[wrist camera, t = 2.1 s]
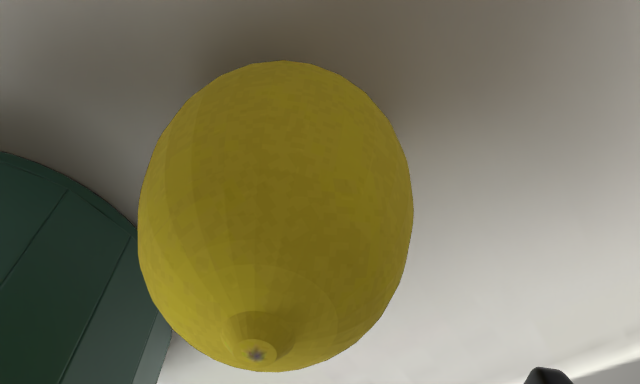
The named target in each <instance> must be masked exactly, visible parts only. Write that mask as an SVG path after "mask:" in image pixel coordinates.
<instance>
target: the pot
mask: <svg viewBox="0 0 640 384" xmlns="http://www.w3.org/2000/svg"><path fill="white" fill-rule="evenodd" d="M171 328H172V327H171V326H170V325H169V324H168V322H167V321H166V320H165V318H164V317H163V315H162V314H161V312H160V311H159V310H158V308H157V307H156V305H155V304H154V302H153V301H152V298H151V296H150V294H149V291H148V289H147V286H146V283H145V280H144V277H143V274H142V271H141V268H140V263H139V257H138V230H137V229H136V228H135V227H134V226H133V225H132V224H131V223H130V222H129V221H128V220H127V219H126V218H125V217H124V216H123V215H122V214H120V213H119V212H118V211H117V210H116V209H114V208H113V207H112V206H111V205H110V204H109V203H107V202H106V201H105V200H103V199H102V198H100V197H99V196H97V195H96V194H95V193H93V192H92V191H90V190H89V189H87V188H86V187H84V186H82V185H81V184H79V183H77V182H75V181H73V180H72V179H70V178H68V177H66V176H65V175H63V174H61V173H58V172H56V171H54V170H52V169H49V168H47V167H45V166H43V165H41V164H38V163H36V162H33V161H30V160H27V159H24V158H21V157H18V156H15V155H12V154H9V153H4V152H0V384H156V383H157V380H158V377H159V374H160V371H161V368H162V365H163V362H164V358H165V355H166V352H167V349H168V346H169V343H170V340H171V337H172V330H171Z"/></svg>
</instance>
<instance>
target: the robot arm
mask: <svg viewBox="0 0 640 384" xmlns="http://www.w3.org/2000/svg"><path fill="white" fill-rule="evenodd" d="M524 384H573V382H572V381H571V380H570V379H569V378H568V377H567V376H566V375H565V374H564V373H563V372H562V371H560V370H557V369H550V368H543V367H536V368H534V369H533V370H532V371H531V372H530V374H529V376H528V377H527V379H526V381H525V382H524Z"/></svg>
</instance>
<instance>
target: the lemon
mask: <svg viewBox="0 0 640 384" xmlns="http://www.w3.org/2000/svg"><path fill="white" fill-rule="evenodd" d="M413 214H414V208H413V196H412V189H411V181H410V173H409V168H408V163H407V160H406V157H405V154H404V152H403V149H402V147H401V145H400V143H399V141H398V138H397V136H396V134H395V132H394V130H393V127H392V125H391V124H390V122H389V120H388V119H387V117H386V116H385V115H384V114H383V113H382V112H381V110H380V109H379V108H378V107H377V106H376V104H375V103H374V102H373V101H372V100H371V99H370V97H369V96H368V95H367V94H366V93H365V92H364V91H363V90H361V89H360V88H358V87H357V86H355V85H354V84H352V83H351V82H350V81H348V80H347V79H345V78H344V77H342V76H341V75H339V74H336V73H334V72H331V71H329V70H326V69H323V68H321V67H318V66H316V65H313V64H308V63H301V62H293V61H286V60H280V61H271V62H262V63H254V64H249V65H247V66H244V67H241V68H239V69H236V70H233V71H231V72H228V73H225V74H223V75H221V76H219V77H218V78H216V79H215V80H213V81H212V82H211V83H209V84H208V85H206V86H205V87H204V88H202V89H201V90H199V91H198V92H197V93H195V94H194V95H193V96H192V97H190V98H189V99H188V100H187V101H186V102H185V104H184V105H183V106H182V107H181V109H180V110H179V111H178V113H177V114H176V115H175V117H174V118H173V119H172V121H171V122H170V123H169V125H168V126H167V127H166V129H165V130H164V131H163V133H162V135H161V136H160V138H159V140H158V142H157V144H156V146H155V149H154V151H153V154H152V157H151V160H150V163H149V166H148V169H147V171H146V174H145V177H144V181H143V184H142V188H141V192H140V198H139V206H138V257H139V263H140V268H141V271H142V274H143V277H144V280H145V283H146V286H147V289H148V291H149V294H150V296H151V298H152V301H153V302H154V304H155V305H156V307H157V308H158V310H159V311H160V312H161V314H162V315H163V317H164V318H165V320H166V321H167V322H168V324H169V325H170V326H171V327H172V329H173V330H174V331H175V332H177V333H178V334H179V335H180V336H181V337H182V338H183V339H184V340H186V341H187V342H188V343H189V344H190V345H191V346H193V347H194V348H196V349H197V350H199V351H200V352H202V353H204V354H205V355H207V356H209V357H211V358H212V359H214V360H216V361H219V362H222V363H224V364H227V365H230V366H233V367H236V368H241V369H246V370H251V371H256V372H284V371H291V370H298V369H302V368H305V367H308V366H311V365H314V364H317V363H320V362H323V361H326V360H328V359H330V358H332V357H334V356H335V355H337V354H339V353H341V352H342V351H344V350H346V349H347V348H349V347H350V346H352V345H353V344H355V343H356V342H357V341H358V340H359V339H360V338H361V337H362V336H363V335H364V334H365V333H366V332H367V331H368V330H370V329H371V328H372V327H373V325H374V324H375V323H376V322H377V321H378V320H379V318H380V317H381V316H382V314H383V312H384V310H385V309H386V307H387V305H388V303H389V302H390V300H391V298H392V296H393V294H394V293H395V291H396V289H397V287H398V285H399V283H400V280H401V277H402V274H403V271H404V267H405V263H406V258H407V253H408V248H409V243H410V238H411V232H412V226H413Z"/></svg>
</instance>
